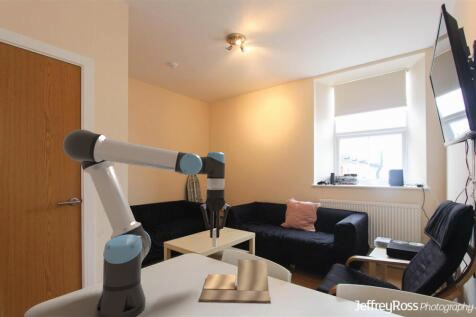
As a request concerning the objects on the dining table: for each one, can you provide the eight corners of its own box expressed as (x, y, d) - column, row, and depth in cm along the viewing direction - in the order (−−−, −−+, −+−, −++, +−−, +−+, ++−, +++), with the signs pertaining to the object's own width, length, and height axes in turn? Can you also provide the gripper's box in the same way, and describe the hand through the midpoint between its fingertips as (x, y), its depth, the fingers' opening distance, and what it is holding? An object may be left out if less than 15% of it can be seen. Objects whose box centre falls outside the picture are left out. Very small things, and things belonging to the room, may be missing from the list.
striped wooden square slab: (203, 292, 94) (203, 288, 94) (208, 277, 106) (208, 274, 106) (234, 293, 93) (234, 289, 94) (235, 278, 105) (235, 274, 106)
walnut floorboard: (199, 303, 86) (199, 299, 86) (203, 293, 93) (203, 289, 93) (270, 305, 85) (270, 300, 85) (268, 294, 93) (268, 290, 93)
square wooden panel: (237, 291, 94) (237, 290, 93) (237, 261, 103) (237, 259, 102) (268, 292, 94) (268, 290, 93) (266, 261, 103) (266, 260, 102)
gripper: (198, 189, 100) (197, 248, 98) (230, 189, 99) (229, 248, 98) (201, 188, 107) (200, 242, 106) (231, 188, 107) (230, 243, 105)
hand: (214, 245), depth 102 cm, fingers closed
